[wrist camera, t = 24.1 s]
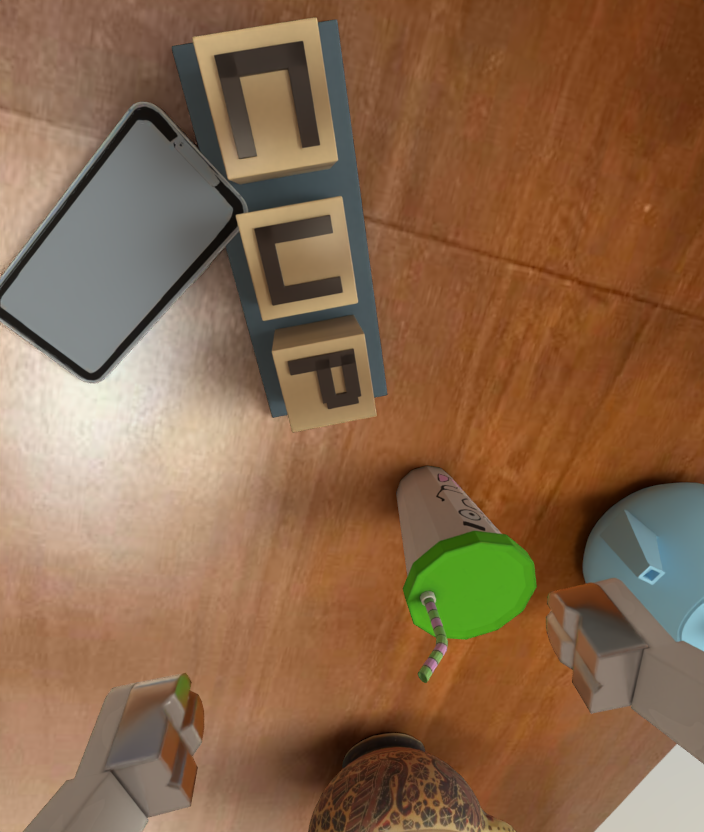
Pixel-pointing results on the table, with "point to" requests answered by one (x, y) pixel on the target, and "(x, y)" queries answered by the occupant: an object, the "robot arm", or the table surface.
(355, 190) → the mat
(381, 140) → the table surface
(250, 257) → the tile
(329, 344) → the tile
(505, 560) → the cup
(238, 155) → the tile
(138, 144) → the smartphone
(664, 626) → the teapot
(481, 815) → the ceramic bowl
